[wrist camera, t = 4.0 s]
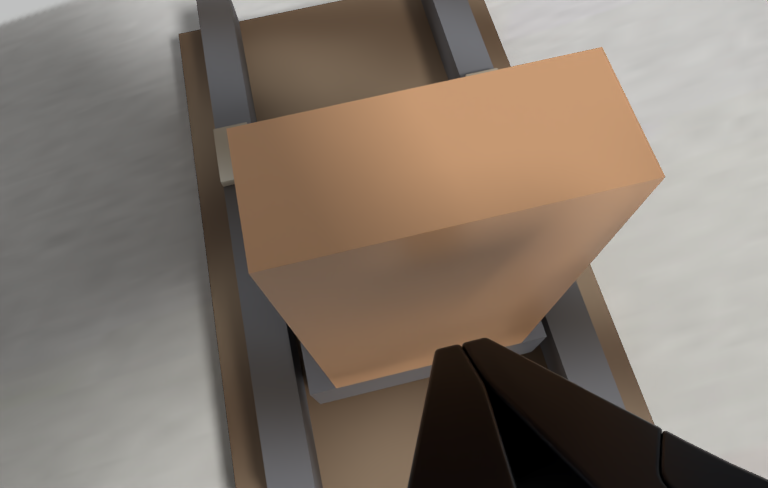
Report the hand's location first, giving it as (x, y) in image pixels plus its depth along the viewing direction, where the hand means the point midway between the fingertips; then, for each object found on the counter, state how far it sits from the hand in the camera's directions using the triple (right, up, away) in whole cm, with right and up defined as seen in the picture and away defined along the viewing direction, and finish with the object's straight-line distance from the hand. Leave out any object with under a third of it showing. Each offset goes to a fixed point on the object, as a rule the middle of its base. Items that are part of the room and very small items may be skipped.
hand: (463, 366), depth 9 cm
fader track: (-1, +3, +12) cm, 12 cm away
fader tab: (-1, +1, +9) cm, 9 cm away
